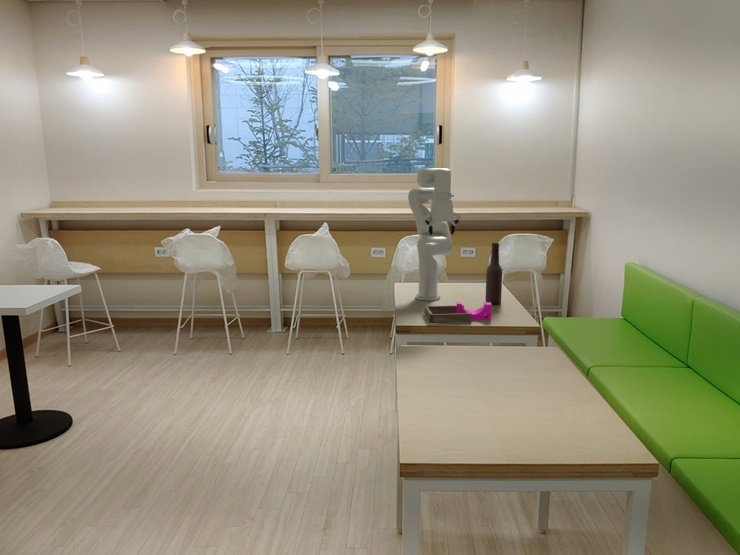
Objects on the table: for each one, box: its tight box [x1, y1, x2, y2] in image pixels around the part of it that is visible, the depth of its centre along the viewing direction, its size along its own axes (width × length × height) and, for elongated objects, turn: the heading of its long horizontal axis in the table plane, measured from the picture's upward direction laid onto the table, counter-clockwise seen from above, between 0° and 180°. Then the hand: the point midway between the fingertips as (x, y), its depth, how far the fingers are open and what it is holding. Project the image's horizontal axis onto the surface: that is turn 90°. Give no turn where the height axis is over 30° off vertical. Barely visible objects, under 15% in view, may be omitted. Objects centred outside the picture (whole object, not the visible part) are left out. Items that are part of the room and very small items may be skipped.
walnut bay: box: [424, 304, 473, 324], centre depth 262 cm, size 15×18×4 cm
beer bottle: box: [485, 242, 503, 306], centre depth 285 cm, size 8×8×30 cm
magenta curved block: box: [456, 301, 493, 321], centre depth 262 cm, size 15×6×8 cm, turn 85°
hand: (441, 234), depth 268 cm, fingers open, 9 cm apart
